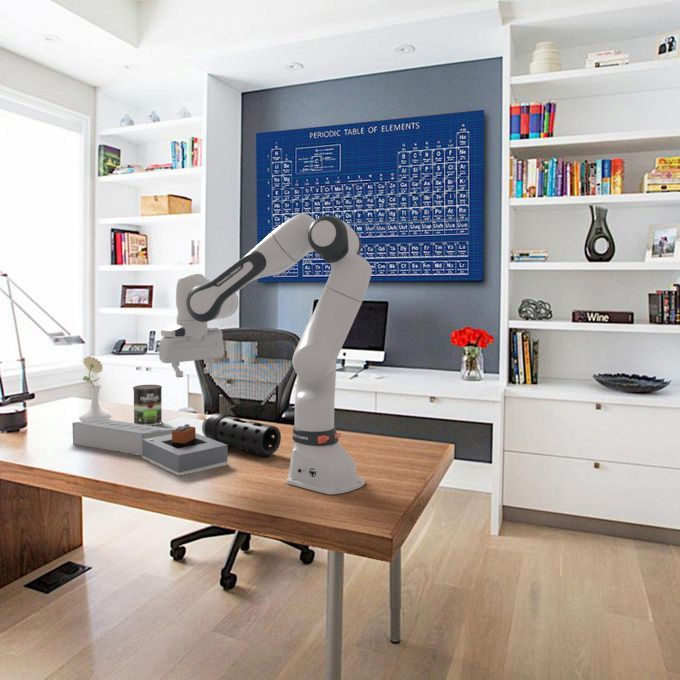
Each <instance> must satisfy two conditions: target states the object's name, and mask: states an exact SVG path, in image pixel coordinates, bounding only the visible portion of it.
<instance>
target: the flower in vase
mask: <svg viewBox="0 0 680 680" xmlns="http://www.w3.org/2000/svg"><path fill="white" fill-rule="evenodd" d="M82 360H83V361H82V362H83V365H84V366H85V368H86V369H87V370H88V371H89V372H88V376H86V375H85V376H83V378H82V381H85V382H88V383H89V382H90V383H91V385H87V388H88V390H89V392H90V396H91V404H90V405H89V407H88V408H87V409H86V410H85V411H83V412H82V413H81V414H80V415H79V417H78V420H79V422H84V421H94V420H105V419H107V420H111V418H112V415H111V413H110V412H109V411H108V410H106V409H105V408H103V407H102V406H101V405H100V404H99V392H100V389H101V388H102V385H101V384H94V382H97V381H98V380H99V378H96V379H95V380H93V381H92V380H91V377H90V376H91V372H93V373H94V374H95V373H96V374H100V373H101V372H103V364H102V363H101V361H100V360H98V358H95V357H94V356H86V357H84V358H83V359H82Z"/></svg>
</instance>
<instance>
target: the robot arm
mask: <svg viewBox="0 0 680 680" xmlns="http://www.w3.org/2000/svg"><path fill="white" fill-rule="evenodd" d="M313 252H315V253H316V254H317V255H318V256H319V257H321V259H323V260H324V261H325V262H326V263H328V264H330V267H331V268H330V274H329V276H328V279H327V281H326V283H325V285H324V288H323V289H322V292H321V294H320V297H319V298H318V301H317V303H316V306H315V308H314V311H313V313H312V315H311V317H310V318H309V321H308V323H307V325H306V327H305V329H304V330H303V333H302V335H301V337H300V339H299V341H298V344H297V346H296V347H295V349H294V352H293V356H292V367H293V369H294V372H295V374H296V383H295V385H296V386H295V394H294V395H295V396H294V426H293V428H292V440H293V446H292V451H291V454H290V463H289V469H288V470H289V472H288V474H287V478H286V484H288V485H292V486H295V487H298V488H303V489H307V490H309V491H310V490H311V491H313V492H317V493H322V494H326V495H339V494H345V493H349V492H351V491H355V490H357V489H359V488H361V487H363V486H365V484H366V481H365V478H362V477H361V476H358V474H357V465H356V461H355V460H354V459H353V458H352V456H351V455H350V454H349V453H348V452H347V450H346V449H345V448H344V447H343V446H342V445H341V443H340V442H339V438H341V437H342V433H341V432H337V429H336V426H335V399H336V398H335V397H336V380H337V379H336V377H337V359H338V357H339V355H340V352H341V351H342V348H343V345H344V343H345V341H346V339H347V336H348V335H349V332H350V330H351V328H352V326H353V324H354V322H355V319H356V317H357V315H358V312H359V311H360V308H361V306H362V304H363V301H364V299H365V296H366V294H367V291H368V287H369V284H370V281H371V276H372V271H373V270H372V266H371V264H370V262H369V261H368V260H367V259H366V258H365V257H363V256H361V255H360V253H361V252H362V241H361V238H360V235H359V234H358V232H357V231H355V229H354V228H352V227H351V226H350V224H348V223H347V222H346V221H343V220H342V219H340V218H338V217H337V216H332V215H323V216H320V217H318V218H316V219H315V218H314V217H312V216H310V215H309V214H307V213H298V214H296V215H294V216H292V217H290V218H288V219H287V220H286V221H284V222H282V223H281V224H279V225H278V226H277V227H276V228H274V230H272V231H271V232H270V233H269V234H268V235H266V237H264V238H263V239H262V240H261V241H260V242H259V243H257V244H256V245H255V246H254V247H253V248H252V249H251V250H250V251H249V252H248V253H247V254H245V255H244V256H243V257H242V258H241V259H239V260H238V261H237V262H235V263H233V265H231V266H230V267H228V268H227V269H226V270H225V271H223V272H222V273H221V274H220V275H218V276H217V277H216V278H214V279H213V280H210V279H208V278H207V277H206V276H204V275H203V274H202V273H201V274H200V273H194V274H188V275H184V276H183V275H182V276H181V277H180V278H179V279H178V280H177V283H176V289H175V305H176V308H177V316H176V323H174V324H172V325H169V326H167V327H164V328H162V329H161V330H160V336H162V338H161V339H160V341H159V347H158V348H159V350H158V351H159V353H158V356H159V360H160V362H161V363H164V364H171V367H172V368H173V370H174V372H175V377H176V378H177V379H178V378H183V377H184V371H183V370H180V368H179V366H180V365H181V364H180V363H184V362H193V361H200V360H201V361H202V360H204V361H206V363H207V364H206V367H203V374H205V375H210V374H211V373H212V367H213V365H214V363H215V359H222V358H223V357H224V355H225V347H224V346H225V345H224V339H223V337H224V336H223V331H222V330H221V329H220V328H218V327H212V328H211V327H208V322H210V321H214V320H219V319H224V318H227V317H230V316H233V315H234V314H235V313H236V311H237V309H238V306H239V297H238V295H237V292H239V291H240V290H241V289H243V288H244V287H245V286H247V284H250V283H251V282H254V281H255V280H258V279H261V278H262V279H263V278H265V277H271V276H277V275H280V274H282V273H283V272H285V271H287V270H288V269H291V268H292V267H293V266H294V265H296V264H298V262H299V261H301V260H302V259H303V258H304V257H305V256H307V255H308V254H311V253H313Z"/></svg>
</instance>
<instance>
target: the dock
mask: <svg viewBox="0 0 680 680" xmlns="http://www.w3.org/2000/svg"><path fill="white" fill-rule="evenodd" d="M195 433H196V432H195ZM228 450H229V447H228V445H226V444H224V443H221V442H218V441H216V440H213V439H210V438H207V437H205V436H204V435H202V434H199V433H196V445H193V446H188V447H184V448H179V449H177V448H175V447H172V434H169V435H163V436H158V437H152V438H147V439H142V456H141V457H142V459H143V458H144V459H146V460H148V461H150V462H152V463H151V464H153V463H154V464H153V465H155V464H156V465H155V466H157V465H158V466H157V467H159V466H160V467H159V468H161V467H162V468H161V469H163V468H164V469H163V470H165V469H166V470H165V471H167V470H168V471H167V472H169V471H170V472H169V473H171V472H172V473H171V474H173V473H175V474H177V475H182V476H184V475H183V474H186V475H189V474H188V473H191V474H194V473H193V472H195V473H199V472H202V471H207V470H210V469H214V468H215V469H216V468H219V467H223V466H227V465H228V458H229V456H228ZM144 459H143V460H144ZM146 460H145V461H146ZM148 461H147V462H148ZM150 462H149V463H150ZM198 471H199V472H198ZM175 474H174V475H175ZM177 475H176V476H177Z"/></svg>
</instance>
